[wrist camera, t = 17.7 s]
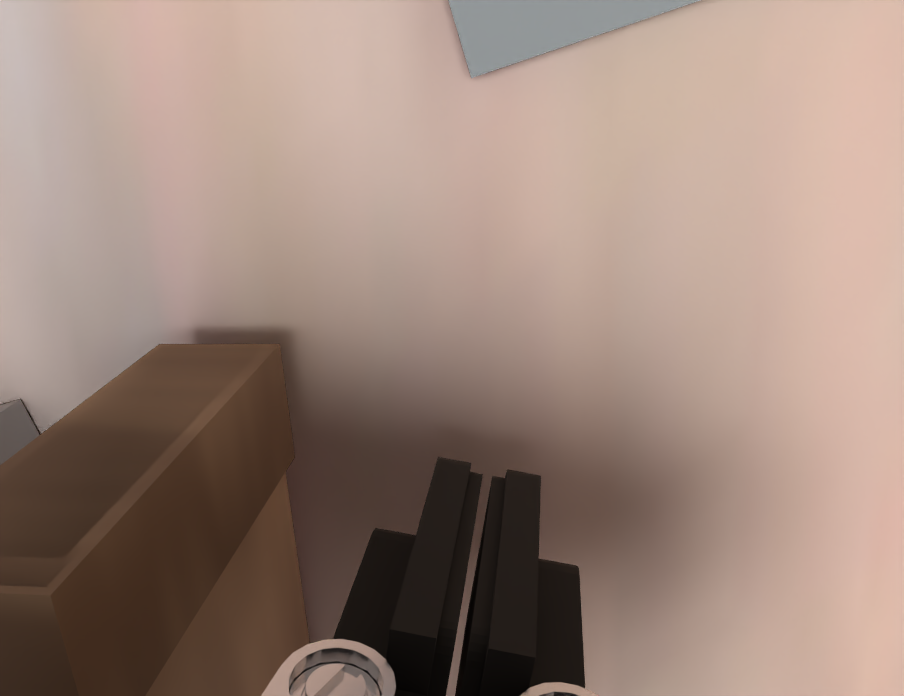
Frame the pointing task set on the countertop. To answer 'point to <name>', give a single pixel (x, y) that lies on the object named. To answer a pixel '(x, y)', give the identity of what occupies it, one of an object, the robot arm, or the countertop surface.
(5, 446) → the post
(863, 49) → the countertop surface
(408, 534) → the robot arm
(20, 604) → the brown wooden block
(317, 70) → the countertop surface
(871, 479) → the countertop surface
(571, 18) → the mat
